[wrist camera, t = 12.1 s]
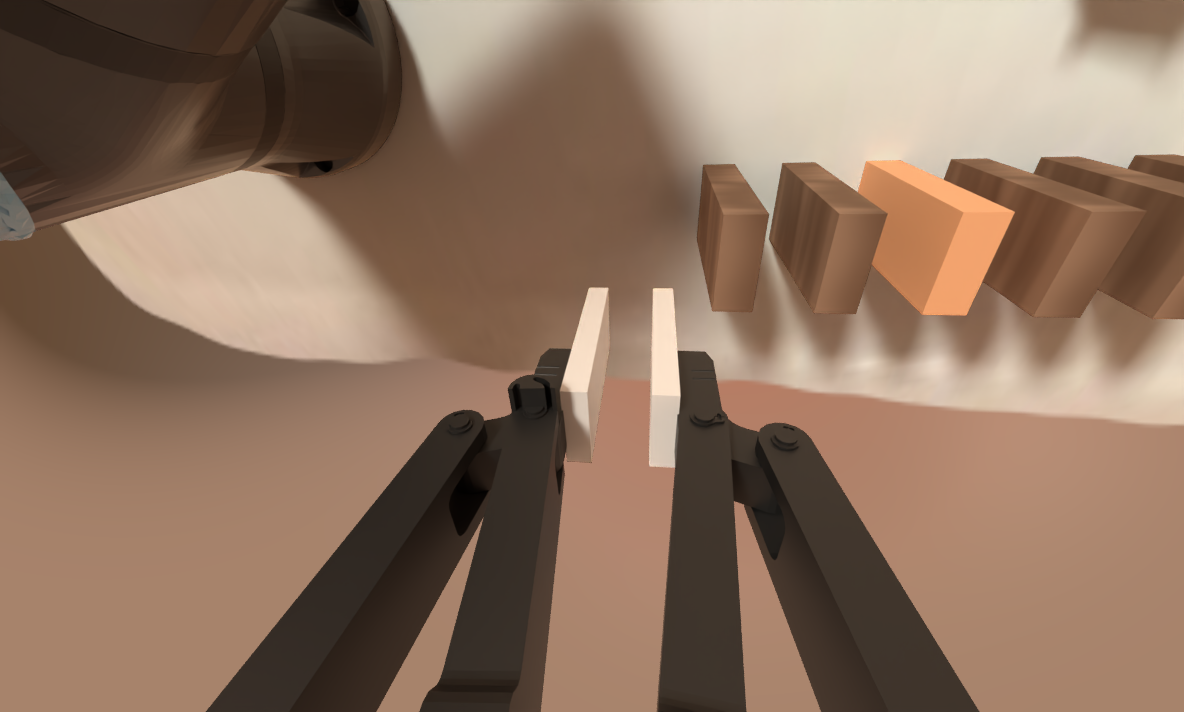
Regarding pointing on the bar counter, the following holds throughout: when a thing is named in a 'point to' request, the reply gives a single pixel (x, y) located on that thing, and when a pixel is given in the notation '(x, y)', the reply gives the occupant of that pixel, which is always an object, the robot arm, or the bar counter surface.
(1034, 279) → the domino
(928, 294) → the domino
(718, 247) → the domino
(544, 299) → the bar counter surface
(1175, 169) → the domino
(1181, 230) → the domino
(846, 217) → the domino
